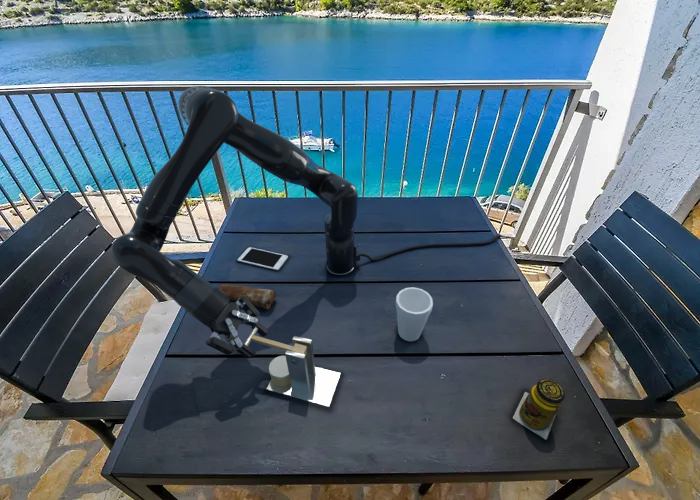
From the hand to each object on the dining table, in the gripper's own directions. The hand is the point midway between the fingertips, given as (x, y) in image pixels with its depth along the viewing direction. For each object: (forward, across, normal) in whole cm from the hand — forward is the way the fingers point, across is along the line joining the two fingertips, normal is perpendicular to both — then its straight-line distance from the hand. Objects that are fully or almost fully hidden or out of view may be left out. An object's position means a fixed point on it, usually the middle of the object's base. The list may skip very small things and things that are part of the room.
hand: (259, 344), depth 81 cm
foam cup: (+32, +23, -15) cm, 42 cm away
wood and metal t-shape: (+3, 0, -3) cm, 4 cm away
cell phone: (-7, +40, +24) cm, 47 cm away
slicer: (+15, 0, +1) cm, 15 cm away
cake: (+11, 0, +4) cm, 12 cm away
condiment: (+54, +7, -36) cm, 65 cm away
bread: (-4, +20, +21) cm, 29 cm away
